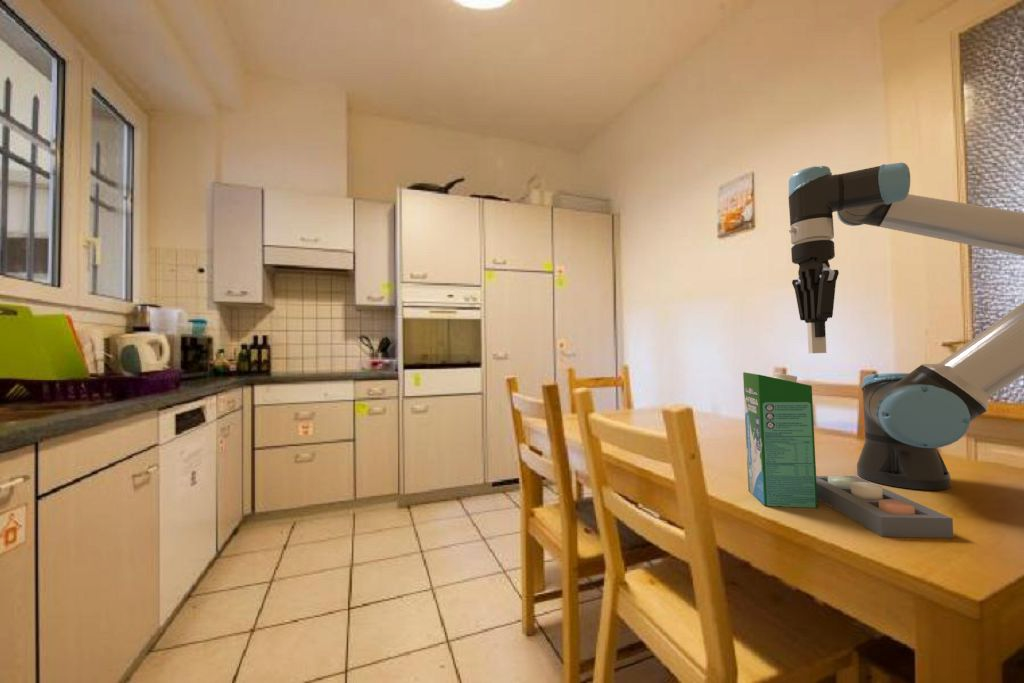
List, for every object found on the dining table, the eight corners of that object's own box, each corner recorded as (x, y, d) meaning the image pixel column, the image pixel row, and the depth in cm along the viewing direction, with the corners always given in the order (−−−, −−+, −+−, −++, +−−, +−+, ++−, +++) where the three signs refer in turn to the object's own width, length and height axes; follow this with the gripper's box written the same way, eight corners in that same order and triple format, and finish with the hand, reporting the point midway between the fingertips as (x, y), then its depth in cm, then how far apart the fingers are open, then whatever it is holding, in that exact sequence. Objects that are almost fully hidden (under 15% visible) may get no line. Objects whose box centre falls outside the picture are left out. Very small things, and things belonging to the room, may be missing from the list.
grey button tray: (803, 490, 88) (803, 475, 88) (856, 490, 87) (855, 476, 87) (881, 536, 66) (880, 517, 67) (953, 538, 65) (952, 518, 65)
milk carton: (818, 508, 79) (811, 373, 79) (764, 506, 80) (758, 374, 81) (796, 492, 87) (790, 370, 88) (748, 490, 89) (742, 371, 90)
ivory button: (871, 497, 79) (870, 481, 79) (889, 506, 74) (888, 489, 74) (845, 497, 79) (845, 481, 79) (862, 505, 75) (861, 489, 75)
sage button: (847, 489, 86) (846, 475, 86) (862, 497, 81) (861, 482, 81) (823, 489, 86) (822, 475, 86) (837, 497, 82) (836, 482, 82)
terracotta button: (901, 517, 72) (900, 499, 72) (923, 527, 67) (922, 509, 67) (872, 516, 72) (871, 499, 72) (892, 527, 68) (891, 509, 68)
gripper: (778, 251, 98) (783, 353, 97) (810, 235, 85) (816, 353, 84) (813, 248, 97) (818, 352, 96) (851, 233, 84) (857, 352, 83)
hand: (817, 353), depth 90 cm, fingers closed
